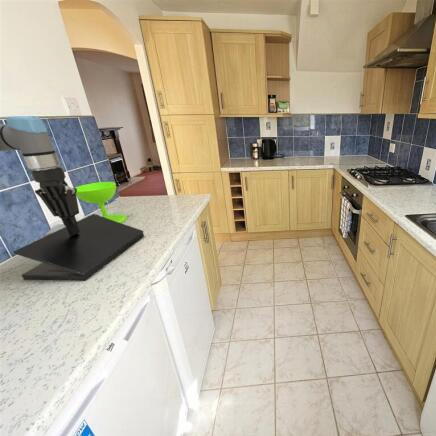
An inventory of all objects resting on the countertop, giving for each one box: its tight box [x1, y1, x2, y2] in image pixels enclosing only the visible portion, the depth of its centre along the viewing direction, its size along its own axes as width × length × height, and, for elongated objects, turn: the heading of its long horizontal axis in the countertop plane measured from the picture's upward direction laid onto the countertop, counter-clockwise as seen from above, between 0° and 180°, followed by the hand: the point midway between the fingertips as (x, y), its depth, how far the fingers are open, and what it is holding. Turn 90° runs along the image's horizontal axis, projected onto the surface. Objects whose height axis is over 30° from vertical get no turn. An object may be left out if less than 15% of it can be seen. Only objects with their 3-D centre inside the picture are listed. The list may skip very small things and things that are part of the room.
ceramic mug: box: [43, 223, 66, 237], centre depth 97 cm, size 11×8×8 cm
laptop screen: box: [13, 213, 144, 276], centre depth 88 cm, size 21×30×1 cm
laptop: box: [21, 232, 145, 282], centre depth 90 cm, size 21×30×2 cm
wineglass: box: [75, 181, 127, 224], centre depth 115 cm, size 16×16×18 cm
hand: (75, 233), depth 87 cm, fingers closed
